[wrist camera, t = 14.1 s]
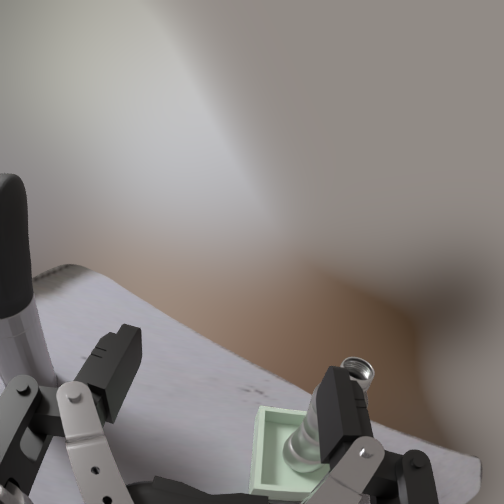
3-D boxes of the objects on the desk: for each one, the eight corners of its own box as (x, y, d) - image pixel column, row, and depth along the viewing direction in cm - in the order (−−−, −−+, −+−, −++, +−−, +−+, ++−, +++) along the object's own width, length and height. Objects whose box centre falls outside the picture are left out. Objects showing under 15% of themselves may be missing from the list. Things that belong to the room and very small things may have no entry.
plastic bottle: (296, 434, 42) (346, 339, 33) (331, 458, 38) (395, 369, 30) (269, 458, 37) (315, 365, 29) (305, 486, 34) (372, 403, 25)
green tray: (248, 497, 32) (253, 488, 30) (255, 419, 44) (260, 405, 43) (347, 501, 32) (359, 491, 30) (339, 427, 45) (348, 414, 43)
